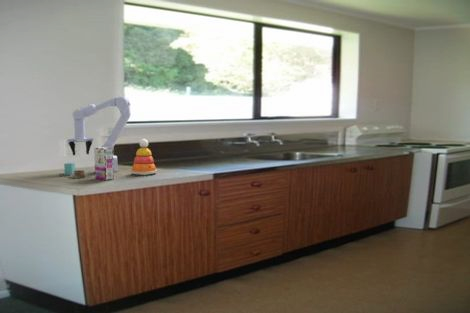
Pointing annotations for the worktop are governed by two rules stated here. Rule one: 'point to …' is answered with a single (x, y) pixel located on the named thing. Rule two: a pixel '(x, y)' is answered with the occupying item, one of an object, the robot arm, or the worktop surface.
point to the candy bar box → (104, 163)
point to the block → (69, 168)
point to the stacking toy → (143, 160)
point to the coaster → (63, 174)
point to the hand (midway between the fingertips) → (80, 154)
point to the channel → (79, 174)
